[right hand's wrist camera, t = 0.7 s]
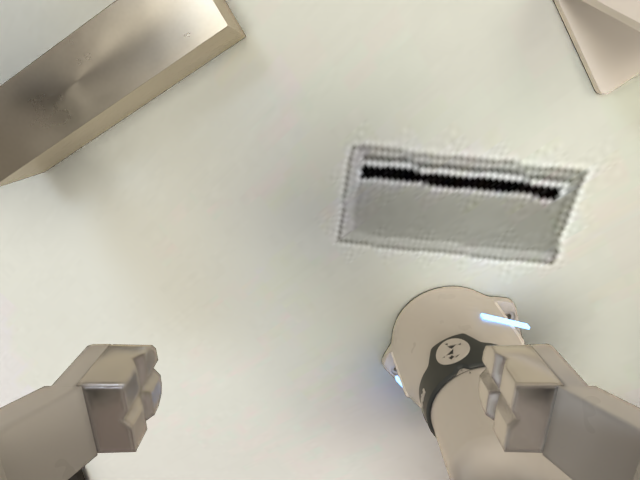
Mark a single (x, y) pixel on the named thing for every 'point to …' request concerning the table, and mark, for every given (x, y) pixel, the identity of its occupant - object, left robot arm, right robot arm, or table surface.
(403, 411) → the table surface
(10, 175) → the box
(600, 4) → the tablet stand
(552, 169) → the table surface
